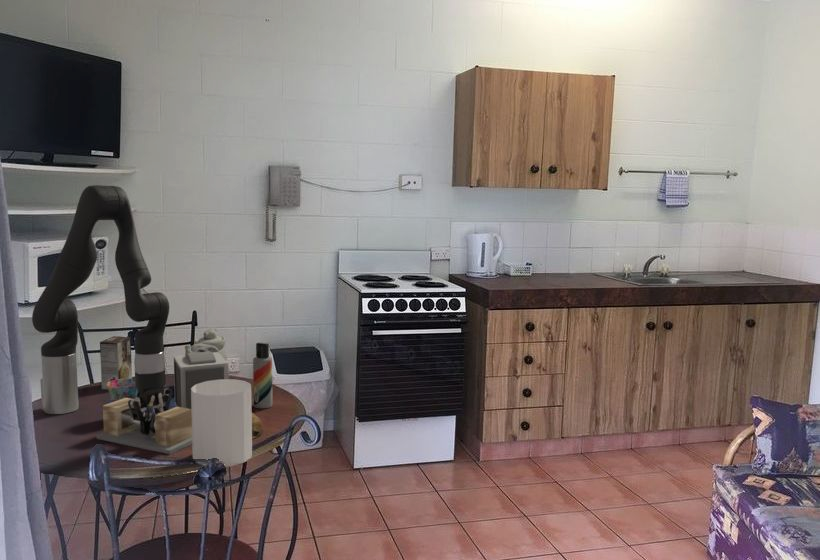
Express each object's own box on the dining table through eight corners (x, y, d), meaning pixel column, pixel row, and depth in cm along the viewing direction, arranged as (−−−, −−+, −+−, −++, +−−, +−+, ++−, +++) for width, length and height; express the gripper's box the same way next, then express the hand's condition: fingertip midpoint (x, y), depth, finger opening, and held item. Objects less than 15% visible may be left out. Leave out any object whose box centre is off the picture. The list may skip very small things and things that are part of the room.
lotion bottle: (249, 407, 213) (249, 343, 211) (260, 402, 219) (259, 339, 216) (265, 409, 211) (265, 345, 209) (276, 404, 216) (275, 341, 214)
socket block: (155, 443, 179) (154, 415, 178) (177, 434, 186) (176, 406, 185) (170, 446, 177) (170, 418, 176) (192, 437, 184) (191, 409, 183)
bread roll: (238, 455, 185) (247, 431, 182) (213, 432, 189) (221, 409, 186) (264, 444, 193) (273, 421, 190) (240, 422, 197) (248, 399, 195)
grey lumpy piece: (188, 394, 226) (186, 337, 224) (174, 383, 238) (172, 329, 236) (236, 386, 236) (236, 331, 233) (220, 376, 248) (219, 324, 245)
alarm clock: (230, 419, 202) (229, 358, 199) (183, 426, 196) (181, 362, 194) (218, 402, 218) (217, 345, 216) (174, 407, 212) (172, 348, 210)
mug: (130, 424, 196) (128, 388, 195) (100, 422, 198) (98, 385, 196) (153, 411, 208) (152, 377, 206) (124, 409, 209) (123, 375, 208)
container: (182, 465, 169) (180, 393, 166) (208, 444, 183) (207, 377, 180) (238, 470, 166) (237, 397, 164) (261, 448, 180) (260, 381, 178)
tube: (113, 428, 186) (112, 409, 186) (128, 422, 191) (127, 403, 191) (159, 438, 180) (158, 417, 179) (173, 431, 185) (173, 412, 184)
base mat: (96, 438, 185) (96, 435, 185) (131, 425, 196) (131, 421, 195) (169, 454, 175) (169, 450, 175) (202, 439, 186) (202, 435, 186)
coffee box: (115, 382, 238) (113, 335, 236) (133, 382, 238) (131, 336, 236) (100, 389, 229) (98, 341, 227) (119, 390, 229) (117, 342, 227)
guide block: (103, 433, 186) (102, 405, 185) (126, 424, 193) (126, 397, 192) (117, 435, 184) (116, 408, 183) (140, 426, 191) (139, 400, 190)
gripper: (158, 361, 190) (160, 421, 192) (118, 373, 177) (120, 438, 180) (180, 364, 187) (181, 425, 189) (140, 376, 174) (142, 442, 177)
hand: (151, 431), depth 184 cm, fingers closed on tube, 4 cm apart
